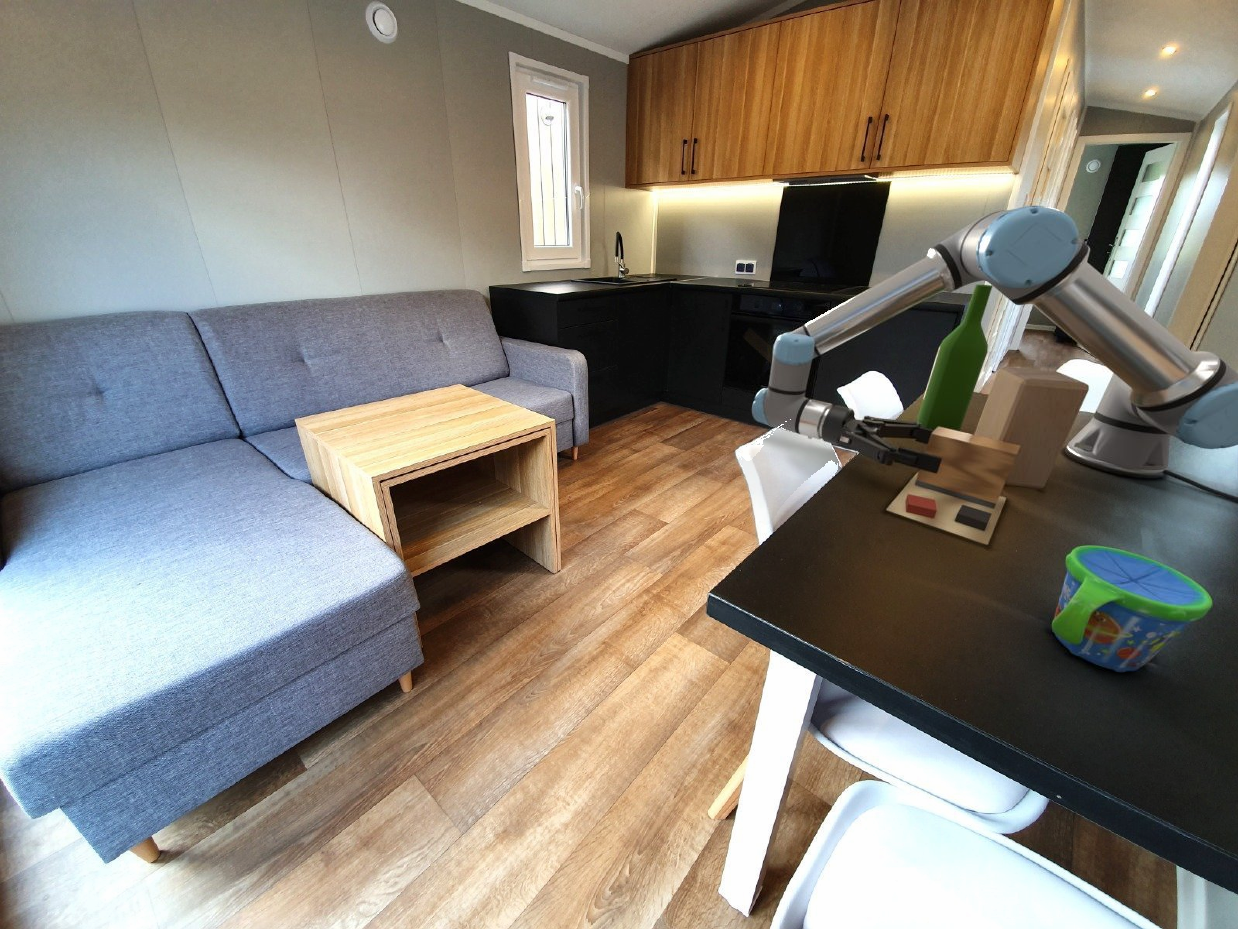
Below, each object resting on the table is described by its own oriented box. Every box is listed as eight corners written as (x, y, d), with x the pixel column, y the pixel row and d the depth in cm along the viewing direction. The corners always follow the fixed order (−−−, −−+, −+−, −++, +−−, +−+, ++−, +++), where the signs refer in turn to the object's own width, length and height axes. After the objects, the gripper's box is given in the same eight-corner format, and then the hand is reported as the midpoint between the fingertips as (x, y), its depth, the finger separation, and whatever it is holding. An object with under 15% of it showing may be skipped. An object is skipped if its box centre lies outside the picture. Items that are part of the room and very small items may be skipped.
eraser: (998, 498, 84) (1020, 445, 80) (993, 509, 81) (1016, 454, 77) (921, 476, 92) (938, 426, 87) (914, 484, 88) (931, 433, 84)
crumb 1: (932, 507, 81) (935, 499, 80) (933, 518, 78) (936, 510, 77) (905, 501, 82) (907, 493, 82) (905, 512, 79) (908, 504, 79)
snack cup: (1095, 606, 60) (1135, 537, 56) (1203, 674, 51) (1261, 598, 47) (993, 623, 57) (1027, 551, 53) (1089, 700, 48) (1141, 620, 43)
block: (1044, 492, 88) (1094, 384, 80) (984, 485, 90) (1026, 379, 82) (1016, 468, 97) (1058, 369, 89) (961, 463, 99) (997, 365, 90)
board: (1005, 500, 85) (1006, 497, 85) (986, 547, 71) (987, 544, 71) (916, 474, 93) (917, 472, 93) (884, 512, 80) (885, 509, 80)
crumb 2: (988, 521, 77) (991, 513, 77) (984, 531, 75) (987, 523, 74) (959, 512, 80) (962, 504, 79) (954, 521, 77) (957, 513, 76)
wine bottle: (921, 421, 121) (965, 282, 107) (963, 432, 115) (1015, 286, 101) (908, 429, 116) (953, 283, 102) (951, 441, 110) (1004, 288, 96)
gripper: (845, 425, 108) (956, 453, 95) (797, 457, 91) (924, 497, 78) (854, 392, 105) (969, 417, 92) (805, 419, 88) (938, 454, 75)
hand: (948, 454), depth 85 cm, fingers open, 13 cm apart
